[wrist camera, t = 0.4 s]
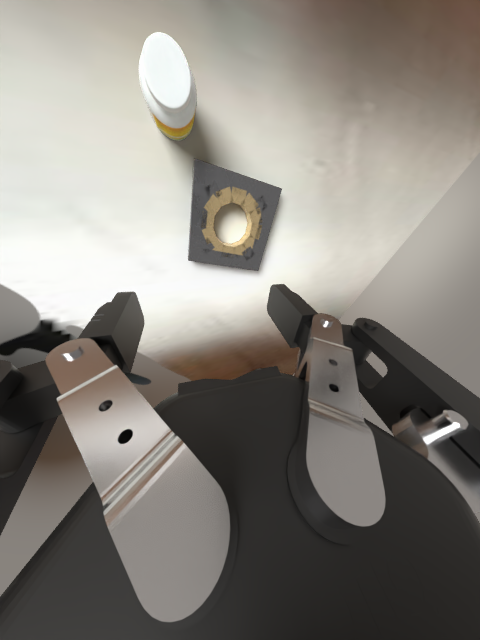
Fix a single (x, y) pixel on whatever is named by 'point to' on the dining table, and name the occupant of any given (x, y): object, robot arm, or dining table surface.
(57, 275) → the dining table surface
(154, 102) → the supplement bottle
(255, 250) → the mount plate
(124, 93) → the dining table surface
